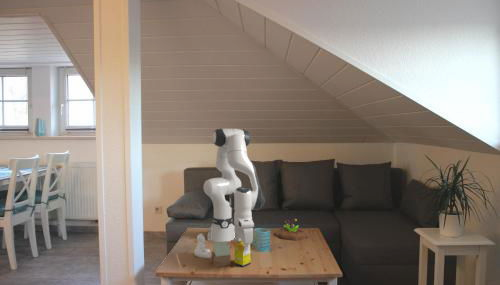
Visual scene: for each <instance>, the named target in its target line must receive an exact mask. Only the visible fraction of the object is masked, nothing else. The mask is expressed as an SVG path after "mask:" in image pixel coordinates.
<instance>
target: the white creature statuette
mask: <svg viewBox="0 0 500 285" xmlns="http://www.w3.org/2000/svg"><path fill="white" fill-rule="evenodd" d="M196 240H197V245H196V247H195V249H194V251H193V254H194V255H195V256H196V257H197V258H201V259H210V258H211V250H210V249H209V248H206V243H205V241H206V237H205V235H204V234H203V233H198V235H197V236H196Z"/></svg>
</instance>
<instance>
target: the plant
mask: <svg viewBox="0 0 500 285" xmlns="http://www.w3.org/2000/svg"><path fill="white" fill-rule="evenodd" d="M297 220H298V219H296V218H295V217H294V218H292V220H291V221H290V220H289V219H285V220H284V223H286V224H285V225H283V227H281V228H278V229H277V230H275V237H276V238H280V239H284V240H290V239H291V240H292V241H299V240H304V239H306V238H307V237H308V235H309V231H308V230H306V229H303V228H299V226H300V225H296V226H295V224H294V222H297Z"/></svg>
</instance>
